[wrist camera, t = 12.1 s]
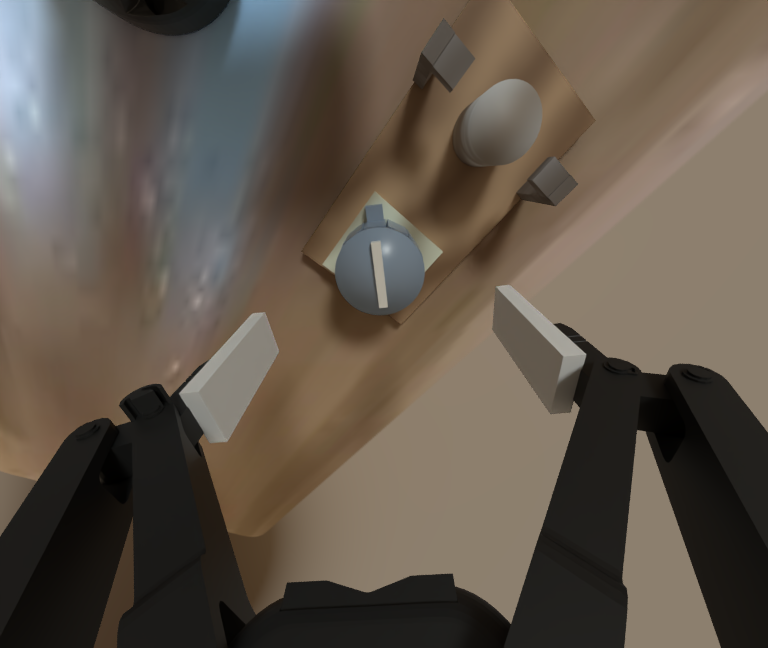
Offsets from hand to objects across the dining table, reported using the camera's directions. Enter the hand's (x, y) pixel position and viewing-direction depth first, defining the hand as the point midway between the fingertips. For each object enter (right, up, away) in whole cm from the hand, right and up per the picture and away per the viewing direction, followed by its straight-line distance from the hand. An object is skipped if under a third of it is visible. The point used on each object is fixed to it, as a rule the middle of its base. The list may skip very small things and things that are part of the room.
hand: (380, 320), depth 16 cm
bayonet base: (+5, +13, +12) cm, 18 cm away
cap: (0, +7, +13) cm, 15 cm away
